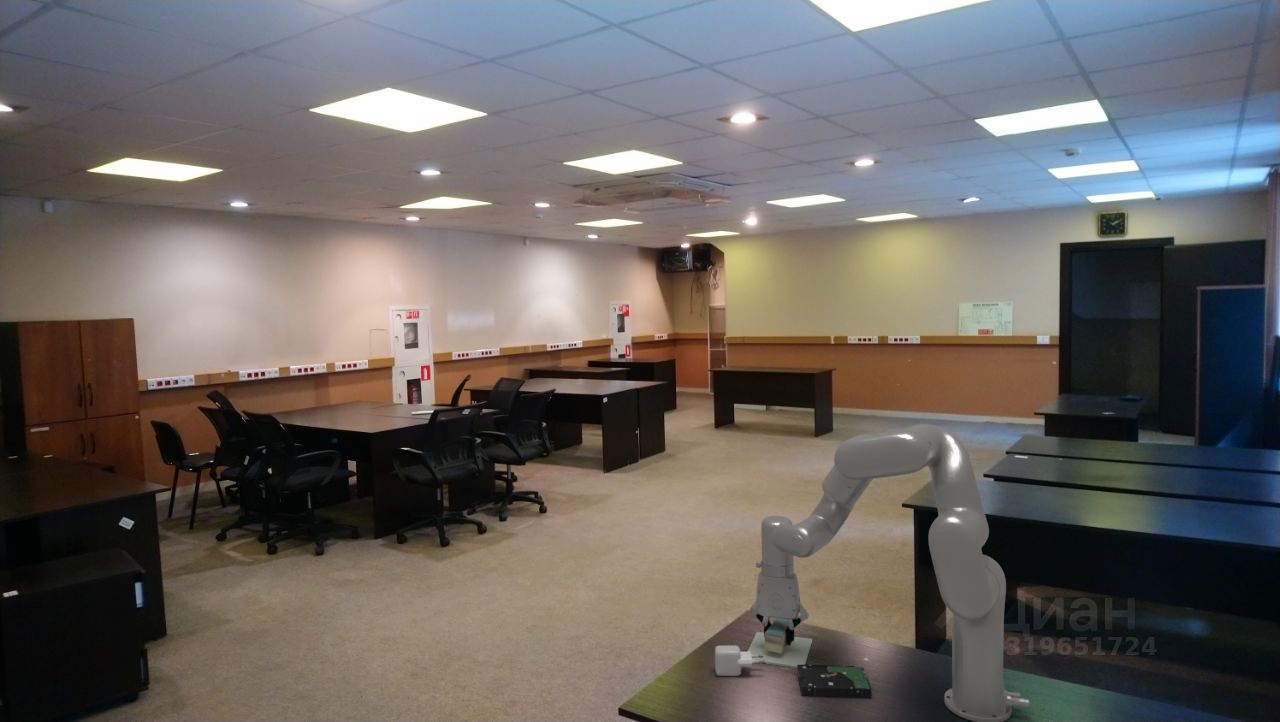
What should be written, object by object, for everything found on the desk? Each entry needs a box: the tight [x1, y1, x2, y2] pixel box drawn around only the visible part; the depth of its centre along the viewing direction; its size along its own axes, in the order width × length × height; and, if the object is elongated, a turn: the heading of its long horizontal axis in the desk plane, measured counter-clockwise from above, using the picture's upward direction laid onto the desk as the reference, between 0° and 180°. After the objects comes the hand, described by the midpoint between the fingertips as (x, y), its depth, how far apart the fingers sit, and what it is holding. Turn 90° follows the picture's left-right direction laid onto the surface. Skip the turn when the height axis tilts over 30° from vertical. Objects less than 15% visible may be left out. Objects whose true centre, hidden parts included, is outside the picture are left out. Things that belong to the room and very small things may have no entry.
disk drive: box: [796, 664, 873, 700], centre depth 160 cm, size 10×3×15 cm
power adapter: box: [714, 645, 765, 677], centre depth 166 cm, size 11×5×6 cm, turn 87°
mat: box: [746, 631, 814, 670], centre depth 177 cm, size 14×15×1 cm
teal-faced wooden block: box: [765, 618, 788, 653], centre depth 176 cm, size 10×4×4 cm, turn 152°
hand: (779, 641), depth 176 cm, fingers closed on teal-faced wooden block, 4 cm apart
